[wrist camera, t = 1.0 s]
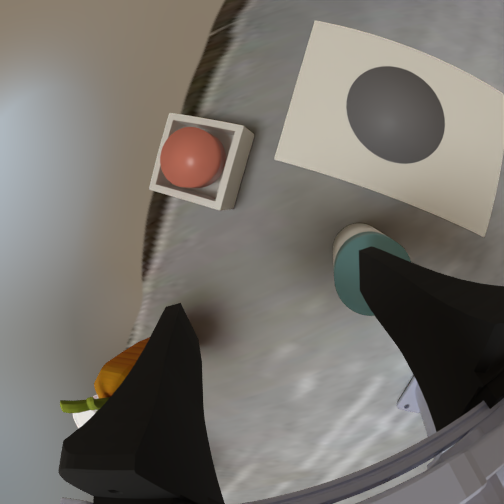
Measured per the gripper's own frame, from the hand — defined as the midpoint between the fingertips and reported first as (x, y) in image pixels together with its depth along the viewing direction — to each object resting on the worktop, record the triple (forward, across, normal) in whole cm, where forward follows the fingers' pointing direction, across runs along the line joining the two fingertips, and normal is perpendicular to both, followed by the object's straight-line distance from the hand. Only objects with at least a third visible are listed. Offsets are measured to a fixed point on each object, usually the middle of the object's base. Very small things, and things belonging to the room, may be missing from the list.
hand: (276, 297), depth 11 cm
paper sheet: (+10, -14, -4) cm, 18 cm away
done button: (+13, +2, -3) cm, 14 cm away
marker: (+8, -8, +5) cm, 12 cm away
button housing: (+15, +1, -3) cm, 15 cm away
